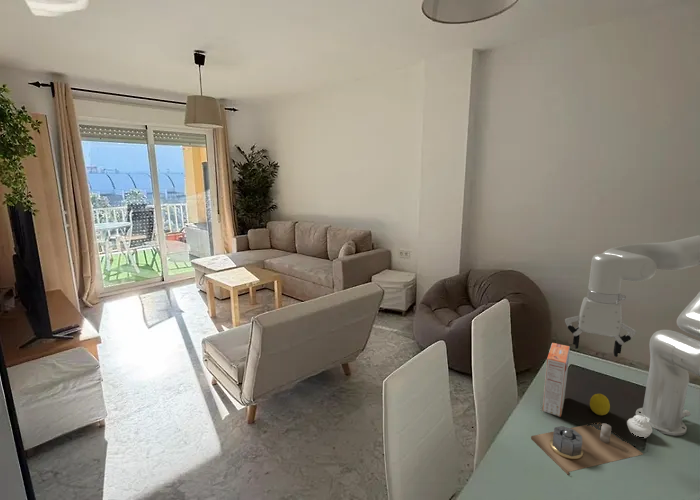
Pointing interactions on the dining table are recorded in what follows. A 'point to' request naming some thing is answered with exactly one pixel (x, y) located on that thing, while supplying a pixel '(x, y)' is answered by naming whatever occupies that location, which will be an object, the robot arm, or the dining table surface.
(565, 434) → the hub
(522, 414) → the dining table surface
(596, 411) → the lemon
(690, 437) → the dining table surface
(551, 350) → the cracker box
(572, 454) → the ring
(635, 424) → the muffin
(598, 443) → the board
